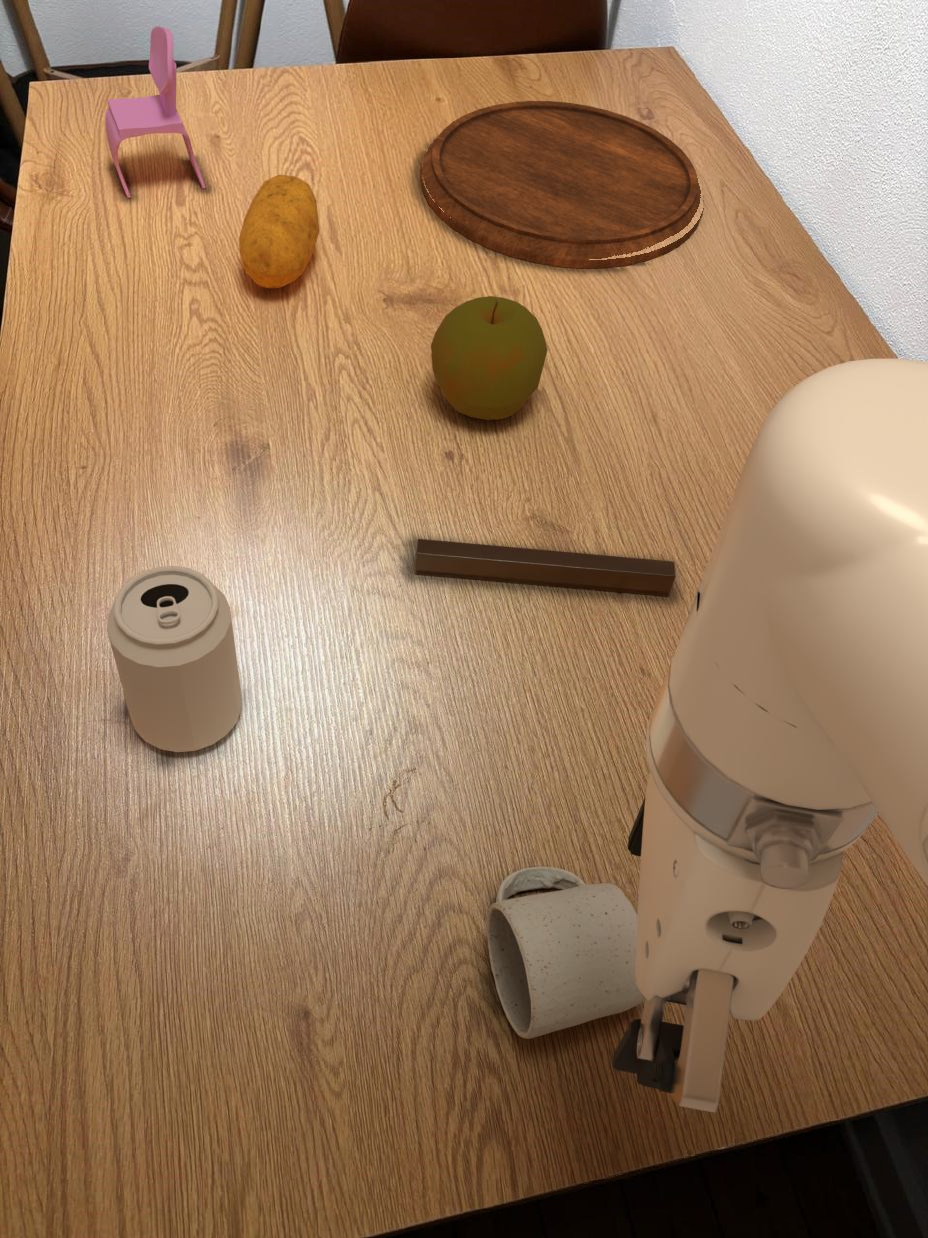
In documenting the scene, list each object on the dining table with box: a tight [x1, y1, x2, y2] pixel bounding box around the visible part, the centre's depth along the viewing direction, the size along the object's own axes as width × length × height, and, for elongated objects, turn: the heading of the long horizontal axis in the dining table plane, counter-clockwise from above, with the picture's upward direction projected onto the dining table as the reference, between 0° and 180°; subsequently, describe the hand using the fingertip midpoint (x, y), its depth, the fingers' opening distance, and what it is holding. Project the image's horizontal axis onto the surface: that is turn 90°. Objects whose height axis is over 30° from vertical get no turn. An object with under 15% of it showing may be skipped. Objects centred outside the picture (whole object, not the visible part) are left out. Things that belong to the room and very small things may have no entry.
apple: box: [430, 295, 548, 421], centre depth 96 cm, size 10×10×11 cm
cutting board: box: [419, 100, 705, 269], centre depth 124 cm, size 32×32×2 cm
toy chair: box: [104, 26, 207, 199], centre depth 114 cm, size 8×9×15 cm
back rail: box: [414, 538, 677, 597], centre depth 87 cm, size 3×20×2 cm, turn 87°
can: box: [106, 565, 243, 753], centre depth 72 cm, size 8×8×12 cm
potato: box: [238, 174, 320, 289], centre depth 108 cm, size 7×14×7 cm, turn 174°
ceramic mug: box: [486, 866, 646, 1040], centre depth 65 cm, size 11×8×8 cm
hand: (656, 954), depth 48 cm, fingers open, 9 cm apart
